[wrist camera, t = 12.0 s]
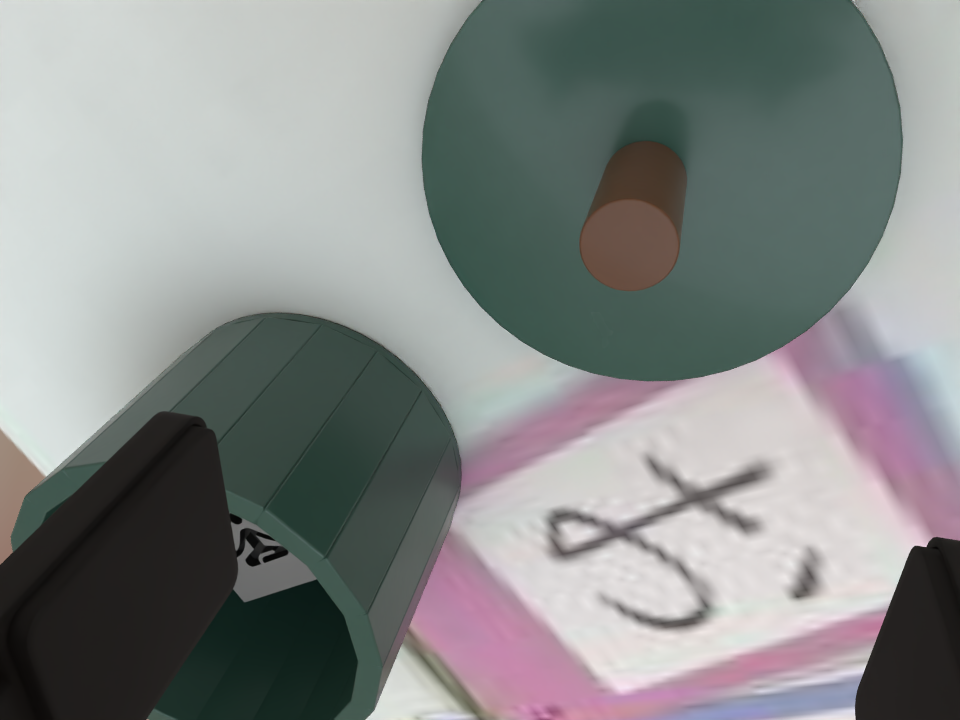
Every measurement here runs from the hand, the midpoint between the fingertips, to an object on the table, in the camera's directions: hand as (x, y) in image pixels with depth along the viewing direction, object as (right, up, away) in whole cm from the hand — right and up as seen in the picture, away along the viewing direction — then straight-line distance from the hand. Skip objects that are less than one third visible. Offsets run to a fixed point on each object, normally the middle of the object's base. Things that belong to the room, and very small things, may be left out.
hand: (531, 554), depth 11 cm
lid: (+4, +8, +13) cm, 16 cm away
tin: (-7, -1, +23) cm, 24 cm away
